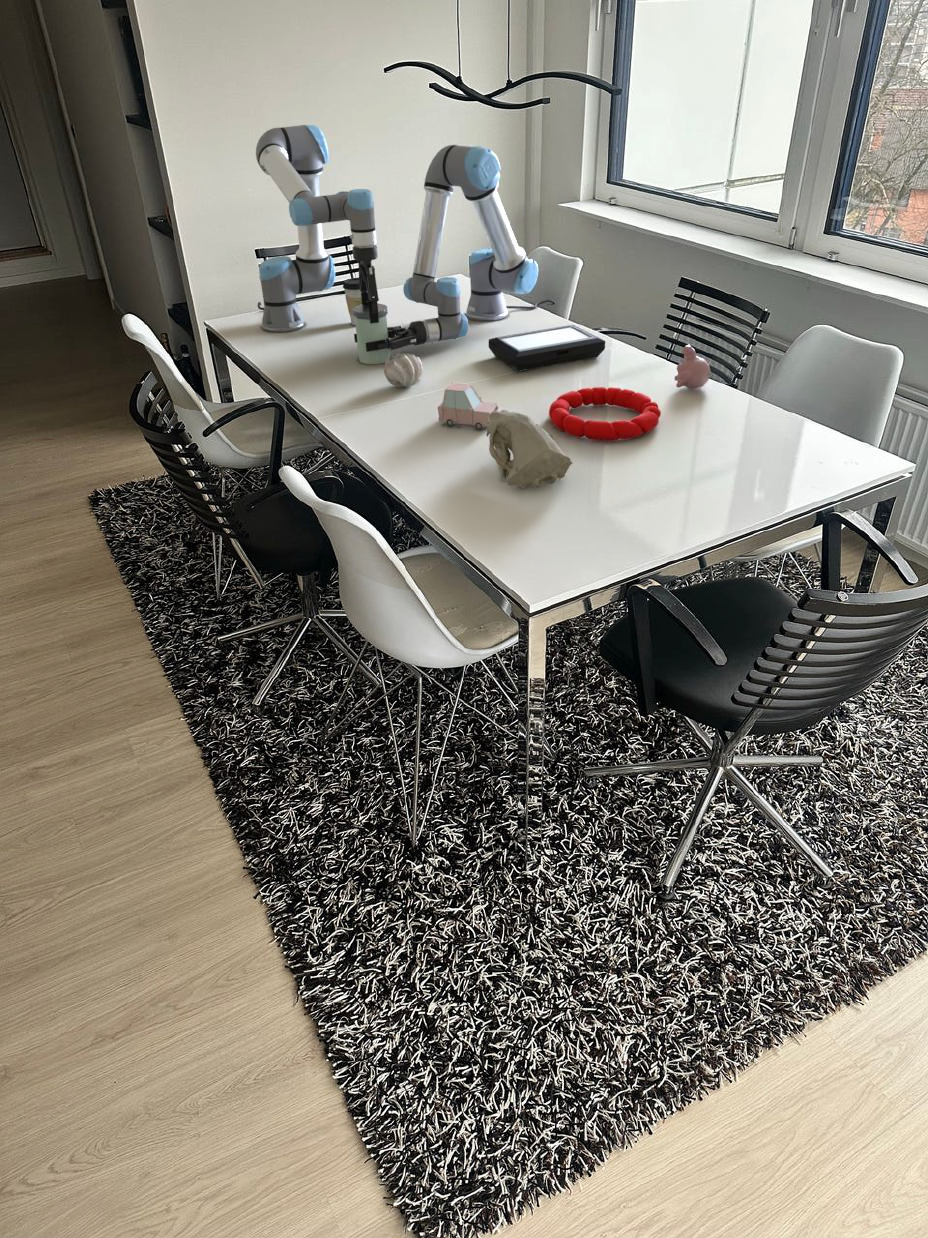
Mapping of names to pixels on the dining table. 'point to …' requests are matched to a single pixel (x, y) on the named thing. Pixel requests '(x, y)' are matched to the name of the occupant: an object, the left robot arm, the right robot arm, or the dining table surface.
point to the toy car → (465, 406)
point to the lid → (363, 311)
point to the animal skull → (525, 450)
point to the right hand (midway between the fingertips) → (360, 342)
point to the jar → (371, 340)
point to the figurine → (692, 370)
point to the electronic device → (546, 347)
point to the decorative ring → (604, 428)
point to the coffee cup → (352, 296)
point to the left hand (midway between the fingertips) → (370, 317)
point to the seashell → (403, 369)
